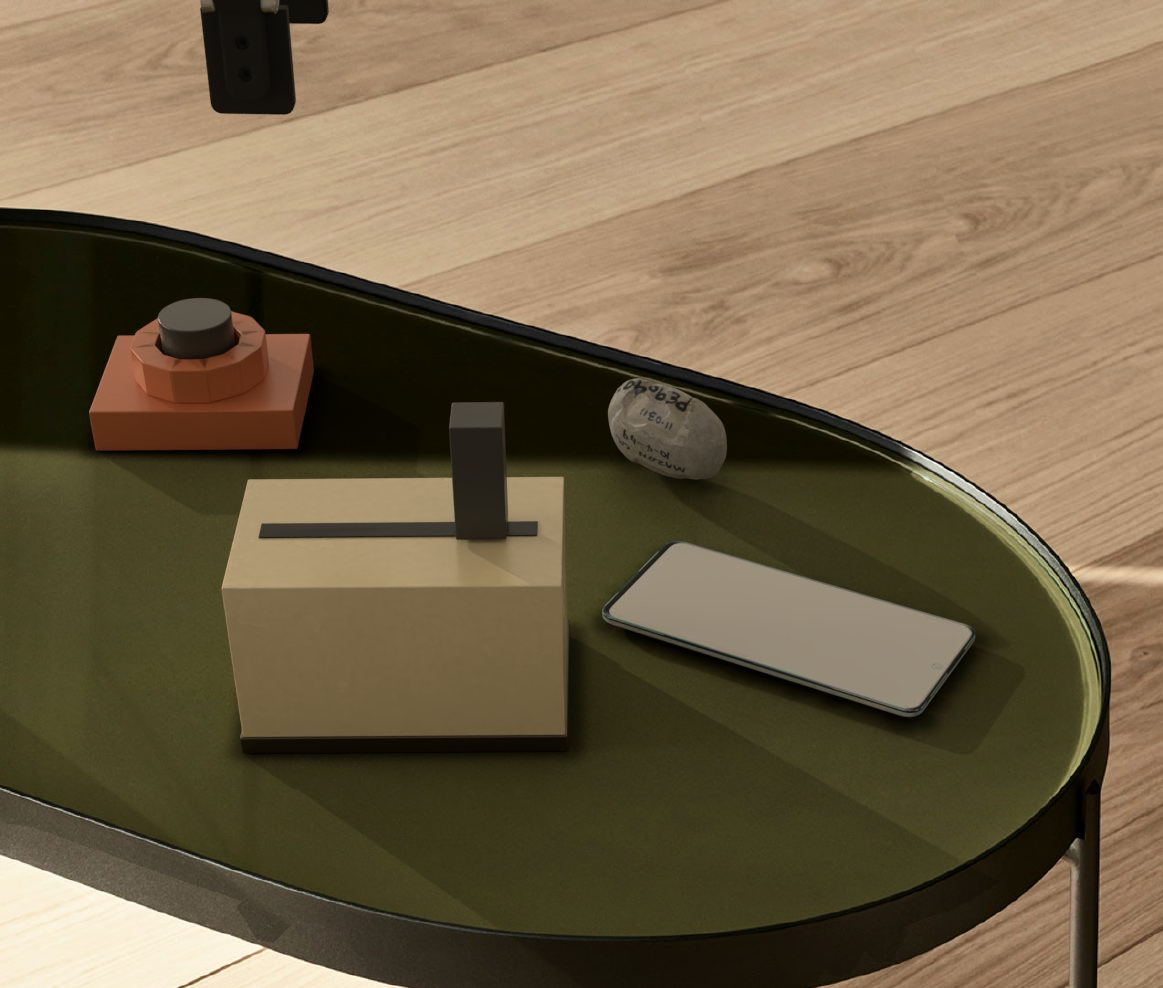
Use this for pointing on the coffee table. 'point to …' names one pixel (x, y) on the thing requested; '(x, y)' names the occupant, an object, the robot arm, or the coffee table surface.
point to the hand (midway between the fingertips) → (273, 64)
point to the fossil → (667, 430)
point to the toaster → (397, 619)
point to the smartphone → (792, 627)
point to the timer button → (196, 329)
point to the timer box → (204, 393)
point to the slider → (479, 470)
